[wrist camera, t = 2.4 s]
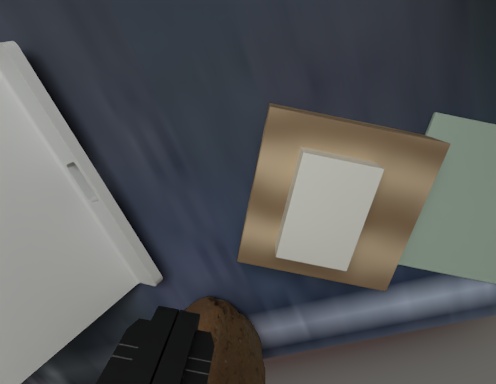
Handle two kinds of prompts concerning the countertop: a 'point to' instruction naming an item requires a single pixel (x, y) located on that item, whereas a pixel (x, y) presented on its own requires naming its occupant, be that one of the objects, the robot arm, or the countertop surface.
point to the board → (383, 205)
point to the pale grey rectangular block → (326, 208)
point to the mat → (459, 204)
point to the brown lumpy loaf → (230, 343)
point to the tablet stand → (53, 229)
